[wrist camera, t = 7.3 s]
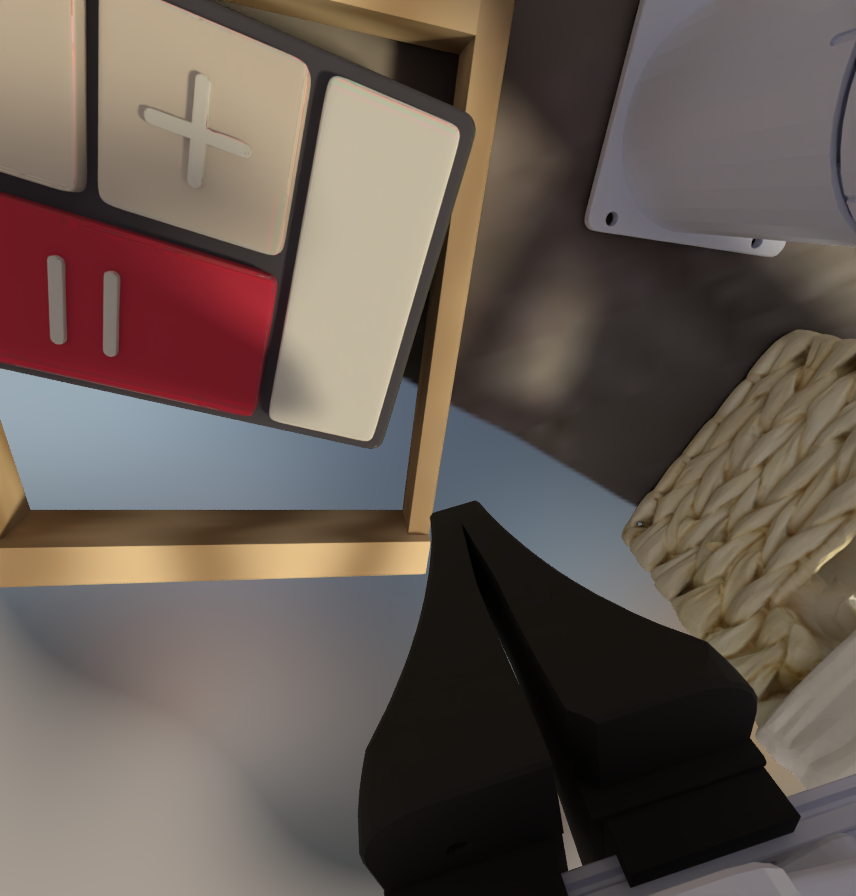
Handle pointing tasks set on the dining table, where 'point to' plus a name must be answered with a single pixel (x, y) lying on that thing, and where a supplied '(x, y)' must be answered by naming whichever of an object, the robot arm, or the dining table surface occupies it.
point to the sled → (407, 531)
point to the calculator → (216, 213)
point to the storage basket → (772, 547)
